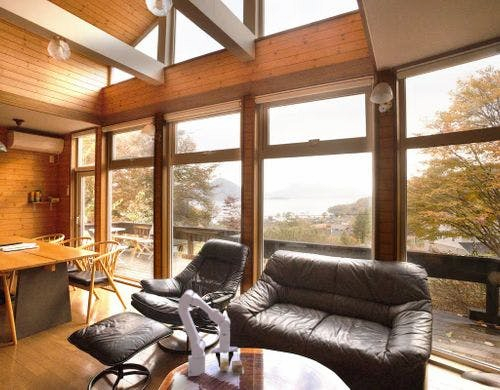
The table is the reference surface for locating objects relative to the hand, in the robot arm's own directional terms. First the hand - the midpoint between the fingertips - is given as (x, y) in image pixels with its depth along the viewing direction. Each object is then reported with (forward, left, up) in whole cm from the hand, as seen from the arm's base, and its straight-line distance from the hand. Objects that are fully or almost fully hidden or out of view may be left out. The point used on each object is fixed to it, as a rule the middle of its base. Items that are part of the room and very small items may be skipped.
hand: (224, 365), depth 164 cm
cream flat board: (+8, 0, -3) cm, 9 cm away
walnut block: (+7, -1, -3) cm, 8 cm away
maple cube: (0, 0, -2) cm, 2 cm away
